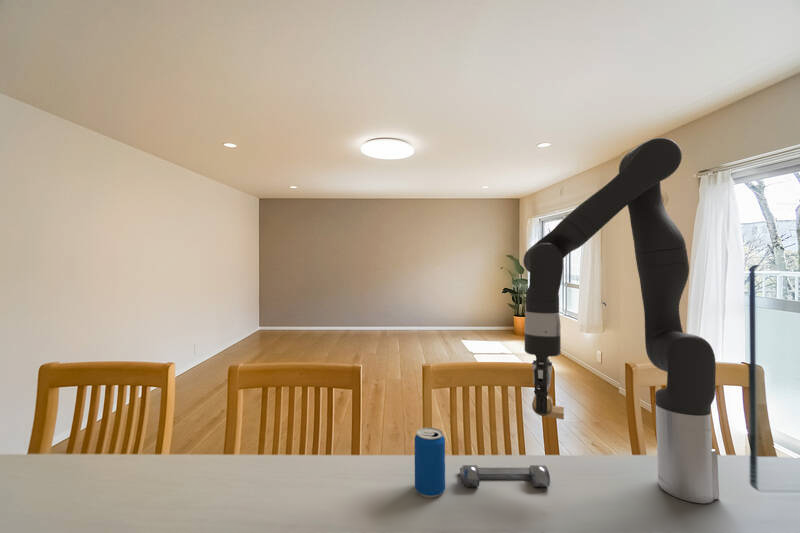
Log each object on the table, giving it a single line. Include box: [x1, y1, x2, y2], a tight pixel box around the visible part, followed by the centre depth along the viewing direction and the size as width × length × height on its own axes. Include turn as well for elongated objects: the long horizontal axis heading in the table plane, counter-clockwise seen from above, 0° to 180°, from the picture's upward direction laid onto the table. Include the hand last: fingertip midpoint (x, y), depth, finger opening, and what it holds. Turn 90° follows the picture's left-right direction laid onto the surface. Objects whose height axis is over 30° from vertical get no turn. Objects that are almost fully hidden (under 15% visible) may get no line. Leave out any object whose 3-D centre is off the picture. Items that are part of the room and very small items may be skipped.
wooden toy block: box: [531, 393, 565, 420], centre depth 78 cm, size 4×6×4 cm
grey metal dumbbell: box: [459, 464, 551, 488], centre depth 78 cm, size 18×7×4 cm, turn 90°
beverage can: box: [414, 427, 446, 499], centre depth 75 cm, size 6×6×12 cm
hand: (542, 409), depth 79 cm, fingers closed on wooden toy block, 4 cm apart
